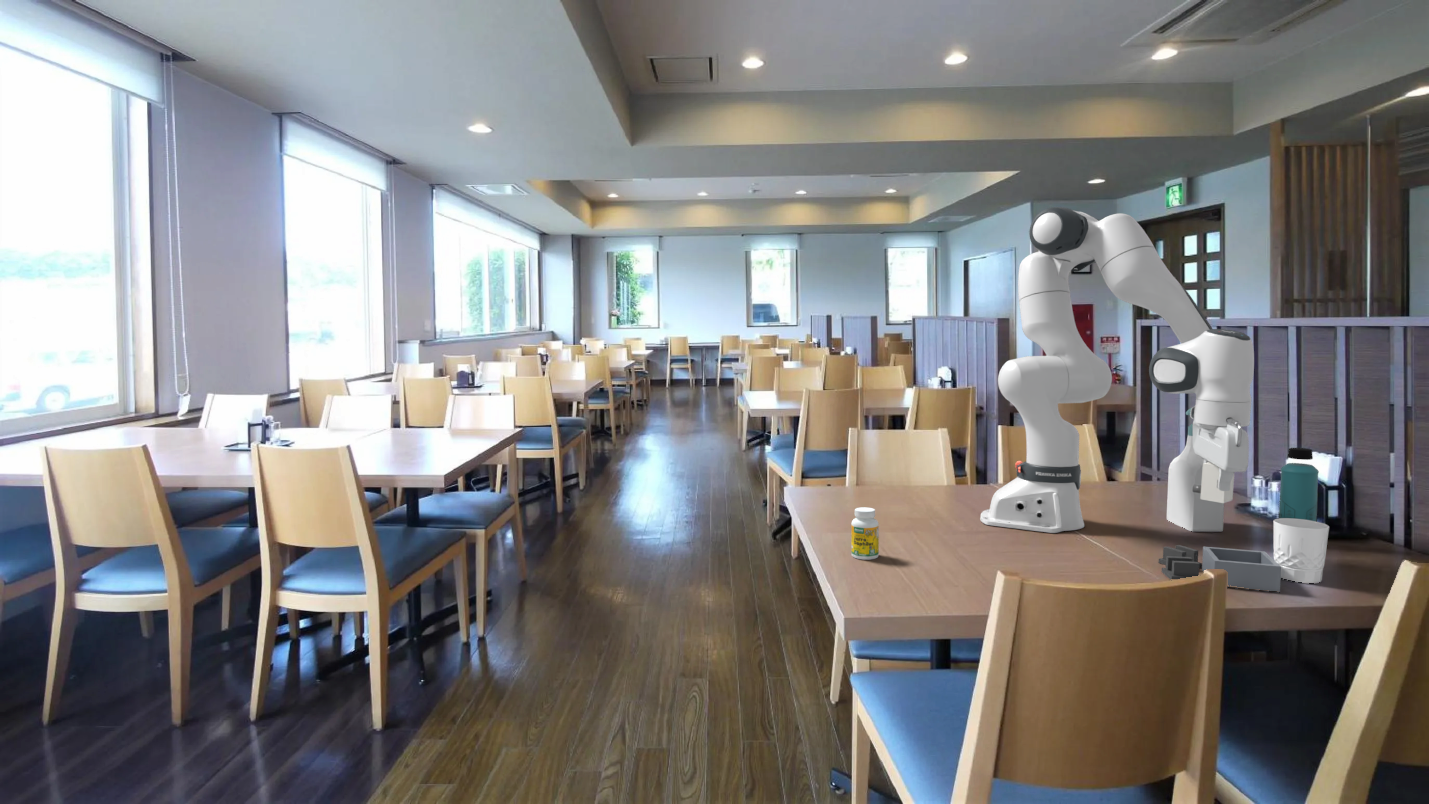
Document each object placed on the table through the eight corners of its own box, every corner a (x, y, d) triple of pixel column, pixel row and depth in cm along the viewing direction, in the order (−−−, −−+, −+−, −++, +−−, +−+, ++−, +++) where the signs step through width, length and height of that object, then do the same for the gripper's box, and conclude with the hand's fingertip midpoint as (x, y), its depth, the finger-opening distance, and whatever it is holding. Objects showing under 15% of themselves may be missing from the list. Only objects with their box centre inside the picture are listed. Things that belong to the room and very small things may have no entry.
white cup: (1259, 572, 141) (1262, 518, 140) (1299, 570, 141) (1302, 517, 141) (1295, 586, 133) (1298, 529, 132) (1337, 584, 134) (1341, 528, 133)
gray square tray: (1213, 585, 133) (1214, 560, 133) (1202, 570, 142) (1203, 546, 142) (1279, 592, 130) (1281, 566, 129) (1263, 575, 138) (1265, 551, 138)
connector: (1189, 497, 150) (1191, 461, 149) (1198, 494, 152) (1200, 459, 151) (1223, 503, 145) (1226, 466, 144) (1232, 500, 147) (1235, 464, 146)
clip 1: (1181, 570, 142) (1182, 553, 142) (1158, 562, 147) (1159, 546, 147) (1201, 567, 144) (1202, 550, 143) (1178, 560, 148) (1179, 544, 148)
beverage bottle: (1322, 547, 156) (1328, 450, 154) (1286, 546, 157) (1291, 450, 156) (1305, 539, 162) (1310, 446, 161) (1269, 537, 164) (1274, 445, 162)
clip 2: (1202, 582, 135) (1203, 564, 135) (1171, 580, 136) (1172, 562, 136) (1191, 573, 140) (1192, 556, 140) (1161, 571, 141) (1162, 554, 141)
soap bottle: (1231, 532, 168) (1237, 408, 166) (1192, 532, 169) (1198, 408, 167) (1202, 520, 179) (1208, 404, 177) (1166, 520, 180) (1171, 404, 177)
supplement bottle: (879, 553, 155) (880, 507, 154) (877, 561, 150) (877, 513, 149) (852, 551, 156) (853, 505, 156) (849, 559, 151) (849, 511, 151)
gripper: (1262, 423, 135) (1256, 499, 137) (1223, 409, 154) (1218, 476, 156) (1220, 421, 137) (1215, 497, 138) (1188, 408, 156) (1183, 474, 158)
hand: (1216, 486), depth 147 cm, fingers closed on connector, 6 cm apart
